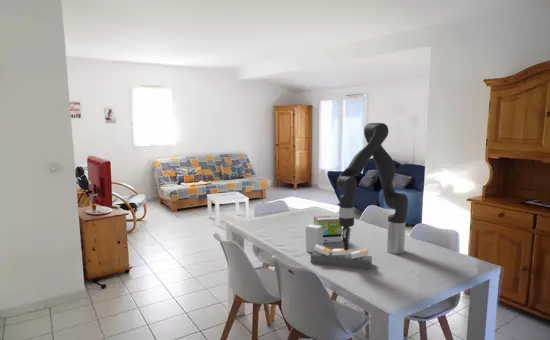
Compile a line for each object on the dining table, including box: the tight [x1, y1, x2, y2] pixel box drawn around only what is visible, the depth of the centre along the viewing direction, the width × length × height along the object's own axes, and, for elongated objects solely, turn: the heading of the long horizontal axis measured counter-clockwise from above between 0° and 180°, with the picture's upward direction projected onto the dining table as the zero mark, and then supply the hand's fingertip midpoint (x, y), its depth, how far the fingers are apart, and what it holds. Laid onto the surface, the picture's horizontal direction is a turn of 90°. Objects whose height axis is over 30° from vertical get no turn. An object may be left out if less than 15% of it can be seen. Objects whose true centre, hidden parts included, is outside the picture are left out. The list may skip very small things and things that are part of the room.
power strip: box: [310, 250, 373, 270], centre depth 194 cm, size 8×30×5 cm, turn 71°
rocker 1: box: [314, 244, 332, 256], centre depth 194 cm, size 4×8×2 cm, turn 71°
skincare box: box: [304, 224, 324, 254], centre depth 211 cm, size 8×6×15 cm
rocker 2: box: [331, 247, 350, 255], centre depth 191 cm, size 4×8×2 cm, turn 71°
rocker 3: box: [350, 248, 369, 259], centre depth 188 cm, size 4×8×2 cm, turn 71°
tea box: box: [313, 214, 343, 244], centre depth 230 cm, size 15×10×15 cm
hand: (346, 249), depth 190 cm, fingers closed
